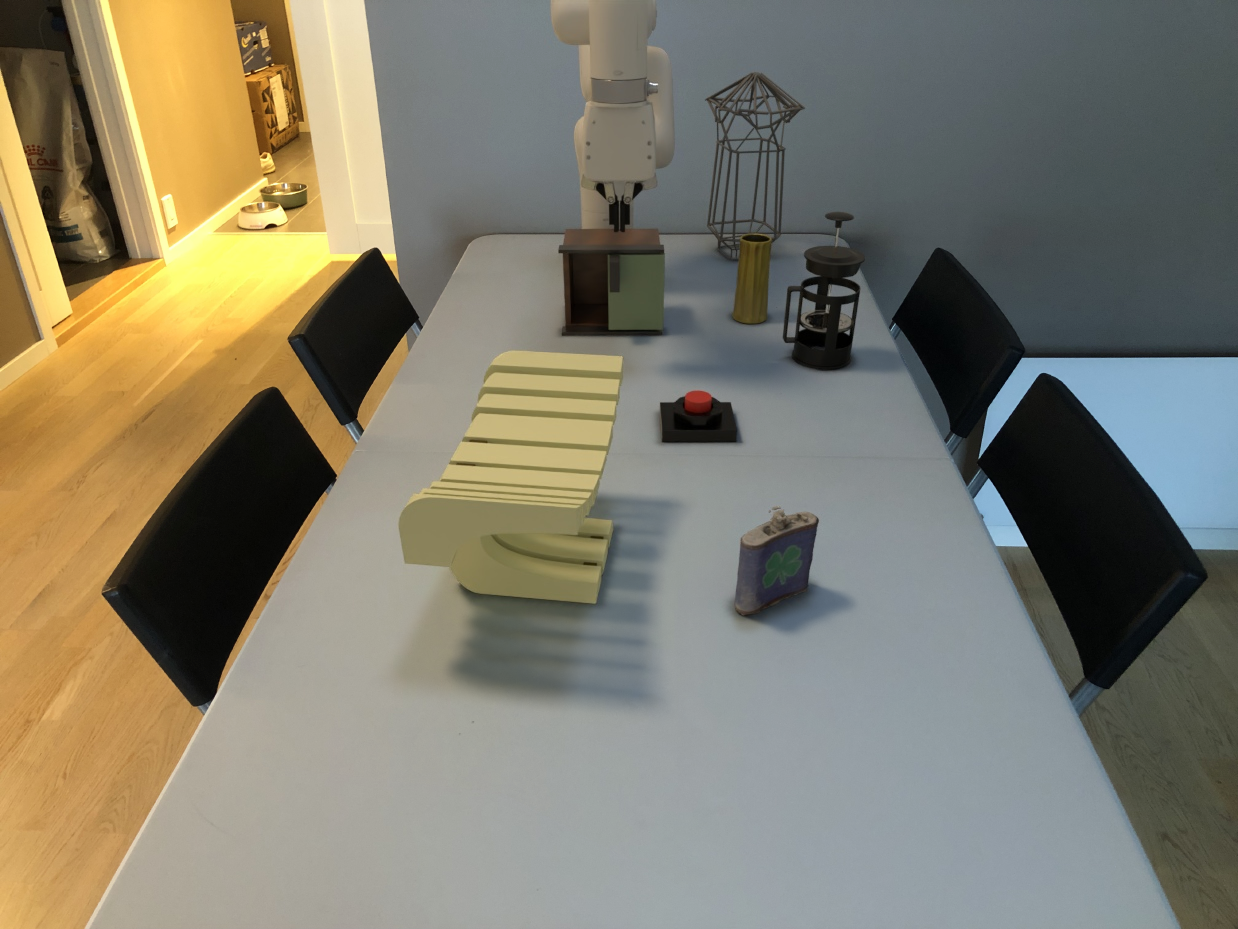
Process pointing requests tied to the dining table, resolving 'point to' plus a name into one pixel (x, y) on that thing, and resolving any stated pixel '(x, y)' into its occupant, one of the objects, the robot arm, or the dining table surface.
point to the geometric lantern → (760, 79)
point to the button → (698, 401)
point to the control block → (697, 423)
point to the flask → (775, 560)
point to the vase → (752, 279)
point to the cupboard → (597, 275)
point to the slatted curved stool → (525, 482)
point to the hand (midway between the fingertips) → (619, 229)
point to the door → (636, 291)
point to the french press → (825, 322)
